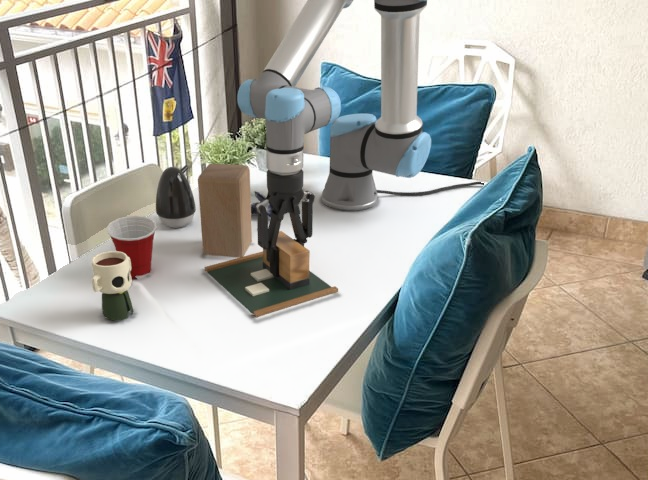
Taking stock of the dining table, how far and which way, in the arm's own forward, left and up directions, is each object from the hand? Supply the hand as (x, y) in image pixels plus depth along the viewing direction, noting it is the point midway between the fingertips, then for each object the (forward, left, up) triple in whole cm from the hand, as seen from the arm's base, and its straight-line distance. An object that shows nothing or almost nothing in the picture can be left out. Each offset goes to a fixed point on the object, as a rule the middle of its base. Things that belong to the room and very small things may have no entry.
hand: (285, 270), depth 154 cm
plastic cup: (+27, -20, -2) cm, 34 cm away
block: (+4, -20, -2) cm, 21 cm away
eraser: (0, 0, -1) cm, 1 cm away
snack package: (-13, -36, -2) cm, 38 cm away
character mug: (+37, -5, -2) cm, 38 cm away
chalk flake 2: (+9, +2, -1) cm, 9 cm away
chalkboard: (+4, 0, -2) cm, 5 cm away
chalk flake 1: (+4, -3, -1) cm, 5 cm away
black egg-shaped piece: (+8, -41, -2) cm, 42 cm away
